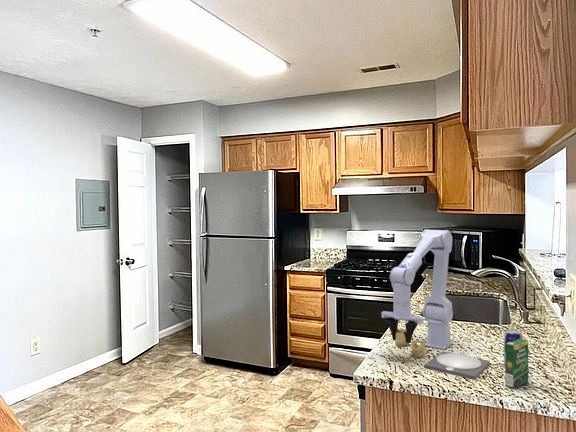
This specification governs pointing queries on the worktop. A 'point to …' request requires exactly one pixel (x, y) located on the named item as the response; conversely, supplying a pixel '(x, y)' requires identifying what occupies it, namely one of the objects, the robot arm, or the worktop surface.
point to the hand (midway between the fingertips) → (401, 341)
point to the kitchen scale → (457, 364)
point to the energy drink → (510, 339)
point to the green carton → (516, 363)
